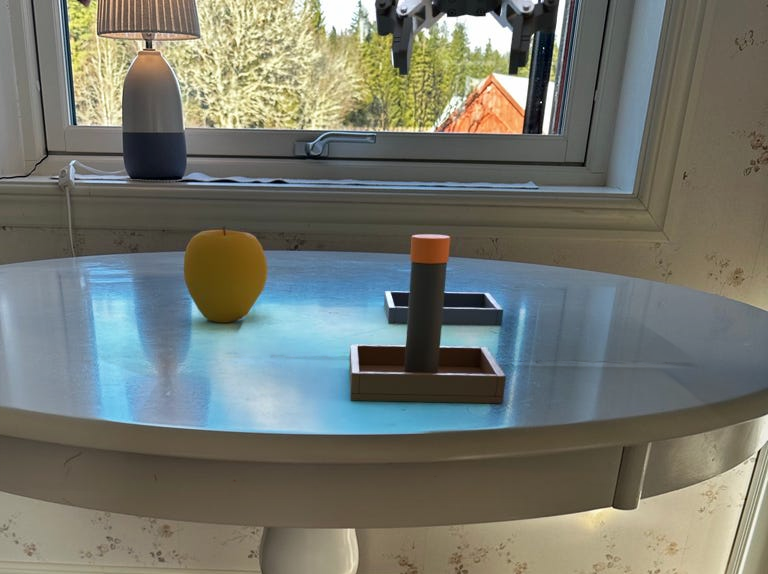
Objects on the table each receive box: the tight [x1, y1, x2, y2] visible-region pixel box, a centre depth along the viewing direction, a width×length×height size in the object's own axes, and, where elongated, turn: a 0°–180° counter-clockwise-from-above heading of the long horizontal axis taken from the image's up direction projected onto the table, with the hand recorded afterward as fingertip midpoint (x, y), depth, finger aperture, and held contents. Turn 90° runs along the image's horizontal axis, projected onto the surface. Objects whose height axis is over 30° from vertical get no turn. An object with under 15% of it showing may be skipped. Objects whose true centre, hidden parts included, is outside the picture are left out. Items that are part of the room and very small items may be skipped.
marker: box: [404, 233, 451, 373], centre depth 72 cm, size 3×3×10 cm
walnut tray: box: [348, 343, 507, 404], centre depth 74 cm, size 11×10×2 cm
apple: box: [183, 226, 268, 324], centre depth 96 cm, size 8×8×9 cm
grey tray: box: [383, 290, 504, 327], centre depth 99 cm, size 11×10×2 cm
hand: (458, 66), depth 74 cm, fingers open, 8 cm apart
